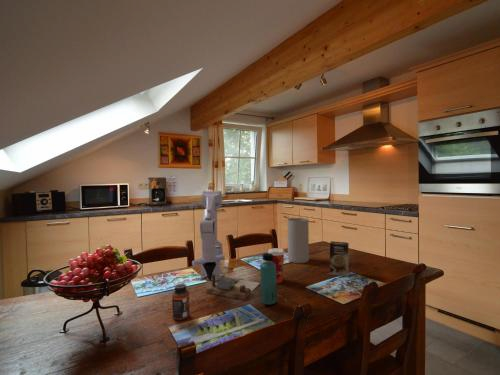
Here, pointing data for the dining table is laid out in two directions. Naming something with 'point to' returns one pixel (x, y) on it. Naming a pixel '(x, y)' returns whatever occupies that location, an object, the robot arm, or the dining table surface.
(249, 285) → the rubber pad
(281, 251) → the coffee cup
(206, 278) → the latch bar
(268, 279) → the beverage bottle
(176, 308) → the supplement bottle
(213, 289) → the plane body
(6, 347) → the dining table surface
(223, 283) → the lever cap
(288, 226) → the cylinder vase
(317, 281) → the dining table surface
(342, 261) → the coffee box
